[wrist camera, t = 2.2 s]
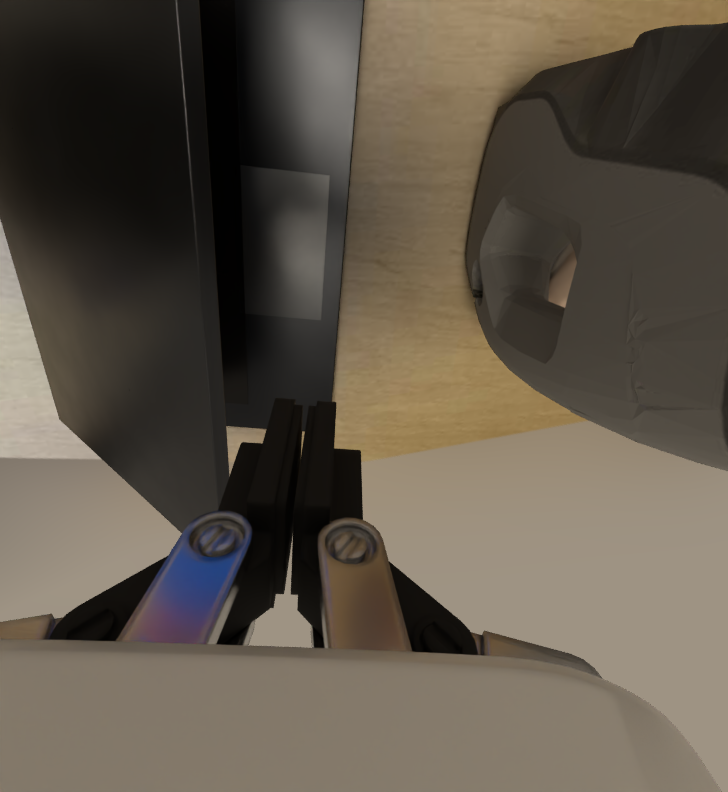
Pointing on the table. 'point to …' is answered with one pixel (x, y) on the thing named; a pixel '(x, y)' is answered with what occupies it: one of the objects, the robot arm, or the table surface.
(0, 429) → the table surface
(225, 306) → the laptop
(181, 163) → the laptop screen
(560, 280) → the garlic bulb
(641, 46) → the handheld device
